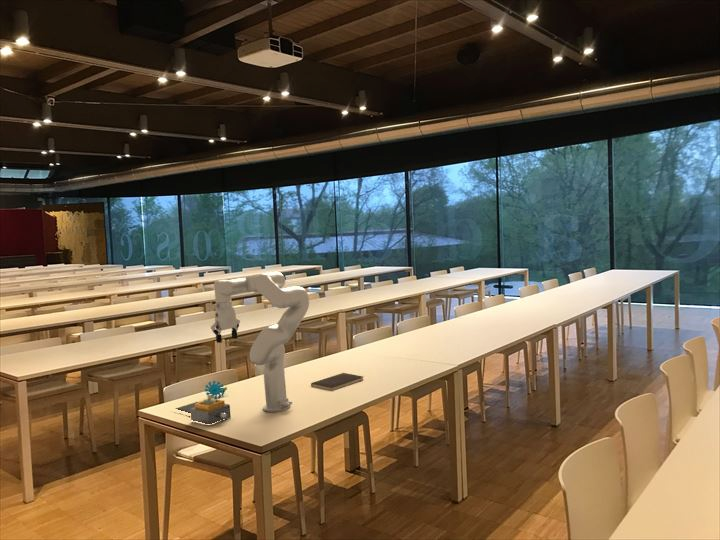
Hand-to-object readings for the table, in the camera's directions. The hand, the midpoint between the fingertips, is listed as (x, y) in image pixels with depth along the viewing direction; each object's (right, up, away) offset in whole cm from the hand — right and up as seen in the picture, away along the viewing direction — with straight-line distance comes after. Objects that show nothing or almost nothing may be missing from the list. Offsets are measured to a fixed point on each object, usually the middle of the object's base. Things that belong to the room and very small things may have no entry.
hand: (227, 340), depth 278 cm
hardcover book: (+53, -26, +23) cm, 63 cm away
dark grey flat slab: (-13, -33, -7) cm, 36 cm away
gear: (-8, -30, +13) cm, 34 cm away
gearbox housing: (0, -32, -25) cm, 41 cm away
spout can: (-2, -32, -23) cm, 40 cm away
